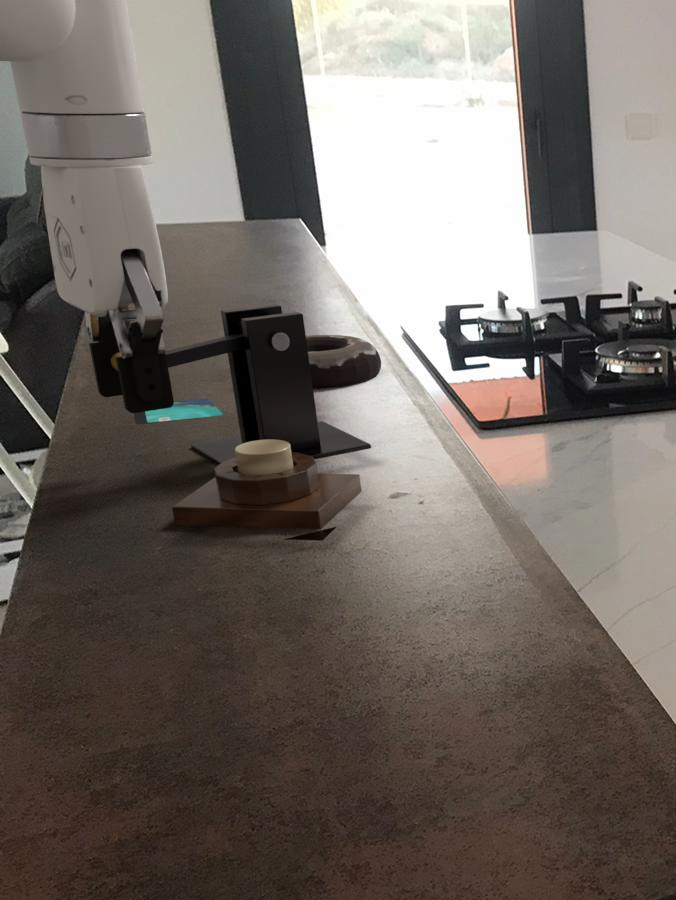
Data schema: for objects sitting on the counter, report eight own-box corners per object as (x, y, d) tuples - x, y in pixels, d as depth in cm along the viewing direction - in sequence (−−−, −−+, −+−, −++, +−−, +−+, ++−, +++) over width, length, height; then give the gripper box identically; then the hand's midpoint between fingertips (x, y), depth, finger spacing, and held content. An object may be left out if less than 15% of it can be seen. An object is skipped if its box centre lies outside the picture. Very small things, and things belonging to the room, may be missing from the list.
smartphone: (319, 407, 115) (133, 425, 108) (320, 415, 115) (135, 433, 109) (307, 388, 121) (130, 404, 114) (308, 396, 121) (132, 413, 114)
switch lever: (138, 392, 92) (128, 360, 91) (116, 379, 96) (106, 348, 94) (299, 351, 99) (291, 321, 98) (273, 340, 103) (265, 311, 102)
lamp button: (229, 478, 88) (225, 453, 87) (251, 462, 91) (247, 438, 90) (281, 479, 88) (277, 454, 87) (301, 463, 91) (298, 439, 90)
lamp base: (177, 537, 87) (166, 481, 86) (229, 498, 94) (220, 446, 93) (322, 541, 87) (314, 485, 85) (363, 502, 94) (356, 450, 93)
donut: (264, 372, 129) (258, 333, 128) (385, 367, 132) (381, 329, 131) (249, 401, 119) (242, 359, 118) (381, 396, 122) (376, 354, 120)
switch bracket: (236, 486, 97) (211, 330, 92) (193, 458, 103) (166, 311, 98) (372, 458, 104) (355, 312, 99) (324, 434, 110) (305, 295, 105)
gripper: (-7, 135, 91) (46, 387, 98) (67, 151, 79) (121, 435, 87) (107, 133, 96) (149, 373, 103) (191, 148, 84) (233, 417, 91)
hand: (136, 399), depth 95 cm, fingers closed on switch lever, 5 cm apart
